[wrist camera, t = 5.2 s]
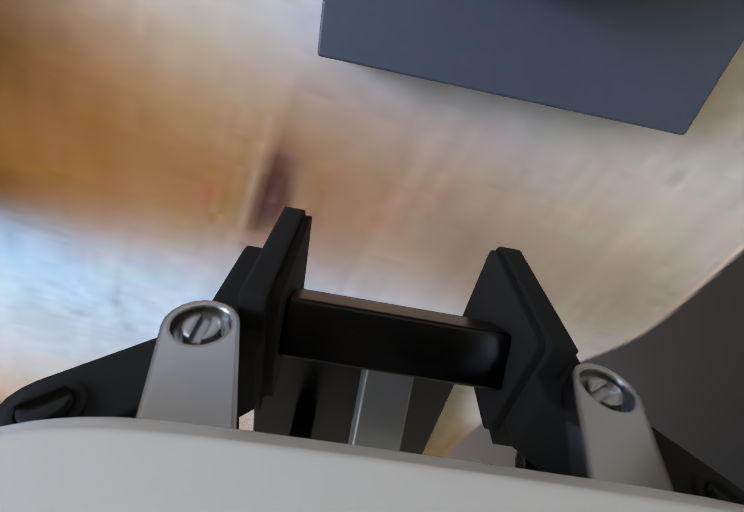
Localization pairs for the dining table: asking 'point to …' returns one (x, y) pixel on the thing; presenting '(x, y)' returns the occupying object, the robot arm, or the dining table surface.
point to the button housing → (550, 50)
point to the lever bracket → (340, 404)
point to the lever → (391, 354)
